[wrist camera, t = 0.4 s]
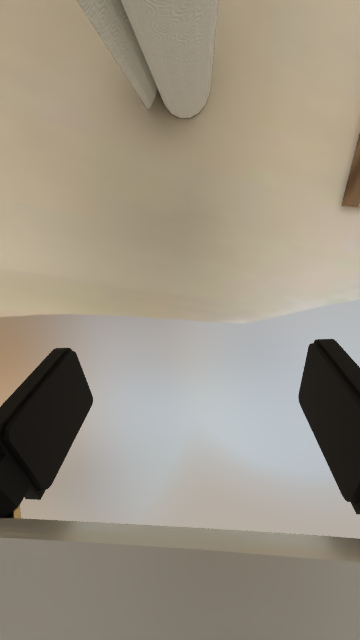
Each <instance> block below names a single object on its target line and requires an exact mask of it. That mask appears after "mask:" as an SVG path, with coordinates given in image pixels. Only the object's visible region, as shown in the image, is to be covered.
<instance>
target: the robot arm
mask: <svg viewBox="0 0 360 640" xmlns="http://www.w3.org/2000/svg"><path fill="white" fill-rule="evenodd" d="M299 402H300V405H301V407H302V410H303V412H304V414H305V416H306V418H307V420H308V422H309V425H310V427H311V429H312V431H313V433H314V435H315V438H316V440H317V442H318V444H319V446H320V448H321V450H322V453H323V455H324V457H325V459H326V461H327V463H328V466H329V467H330V470H331V472H332V474H333V476H334V478H335V481H336V483H337V485H338V487H339V489H340V491H341V494H342V495H343V497H344V499H345V500H346V501H348V502H351V504H352V506H353V507H354V510H355V512H356V514H360V368H359V366H357V364H356V363H355V362H354V361H353V360H352V359H351V358H350V356H349V355H348V354H347V353H346V352H345V351H344V350H343V348H342V347H341V346H340V345H339V344H338V343H337V342H336V341H335V340H334V339H322V340H321V339H318V340H315V341H314V343H313V344H310V345H309V347H308V352H307V357H306V362H305V367H304V372H303V377H302V381H301V387H300V391H299ZM92 403H93V397H92V394H91V391H90V389H89V386H88V383H87V381H86V378H85V375H84V373H83V370H82V368H81V365H80V362H79V360H78V357H77V355H76V353H75V352H74V351H72V350H71V349H70V348H56V349H54V350H53V351H52V352H51V353H50V354H49V355H48V356H47V357H46V358H45V359H44V360H43V361H42V362H41V364H40V365H39V366H38V367H37V368H36V369H35V370H34V371H33V372H32V373H31V374H30V375H29V376H28V378H27V379H26V380H25V381H24V382H23V383H22V384H21V385H20V386H19V387H18V388H17V389H16V391H15V392H14V393H13V394H12V395H11V396H10V397H9V398H8V399H7V400H6V401H5V402H4V403H3V405H2V406H1V407H0V640H360V539H355V538H342V537H329V536H317V535H303V534H286V533H269V532H254V531H238V530H237V531H236V530H221V529H220V530H219V529H205V528H187V527H168V526H152V525H151V526H150V525H133V524H116V523H115V524H114V523H97V522H77V521H57V520H38V519H21V512H20V503H21V501H22V500H23V498H24V497H25V498H26V499H38V500H40V499H41V497H42V496H43V494H44V492H45V490H46V489H48V488H49V487H50V486H51V484H52V483H53V481H54V479H55V477H56V475H57V473H58V471H59V469H60V467H61V465H62V463H63V461H64V459H65V457H66V455H67V453H68V451H69V449H70V447H71V445H72V443H73V441H74V439H75V437H76V435H77V433H78V431H79V430H80V428H81V426H82V424H83V422H84V420H85V418H86V416H87V414H88V412H89V410H90V408H91V406H92Z"/></svg>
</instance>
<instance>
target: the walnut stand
mask: <svg viewBox="0 0 360 640" xmlns="http://www.w3.org/2000/svg"><path fill="white" fill-rule="evenodd" d="M342 206H352V207H360V136H359V139H358V143H357V147H356V151H355V155H354V159H353V163H352V167H351V171H350V175H349V179H348V183H347V187H346V191H345V195H344V199H343V203H342Z"/></svg>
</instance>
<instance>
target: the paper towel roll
mask: <svg viewBox="0 0 360 640" xmlns="http://www.w3.org/2000/svg"><path fill="white" fill-rule="evenodd" d="M77 1H78V3H79V5H80V6H81V8H82V9H83V11H84V12H85V14H86V15H87V17H88V18H89V20H90V22H91V23H92V25H93V26H94V28H95V29H96V31H97V32H98V34H99V35H100V37H101V38H102V40H103V42H104V43H105V45H106V46H107V48H108V49H109V51H110V52H111V54H112V55H113V57H114V59H115V60H116V62H117V63H118V65H119V66H120V68H121V69H122V71H123V72H124V74H125V75H126V77H127V79H128V80H129V82H130V83H131V85H132V86H133V88H134V89H135V91H136V92H137V94H138V96H139V97H140V99H141V100H142V102H143V103H144V105H145V106H146V108H147V109H149V108H150V107H151V106H152V103H153V101H154V98H155V96H156V91H157V88H158V90H159V93H160V95H161V97H162V100H163V102H164V105H165V106H166V107H167V109H168V110H169V111H170V113H171V114H173V115H175V116H177V117H179V118H191V117H193V116H195V115H197V114H198V113H199V112H200V111H201V110H202V108H203V107H204V106H205V105H206V102H207V99H208V97H209V94H210V87H211V76H212V65H213V54H214V44H215V33H216V22H217V11H218V1H219V0H77Z"/></svg>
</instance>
